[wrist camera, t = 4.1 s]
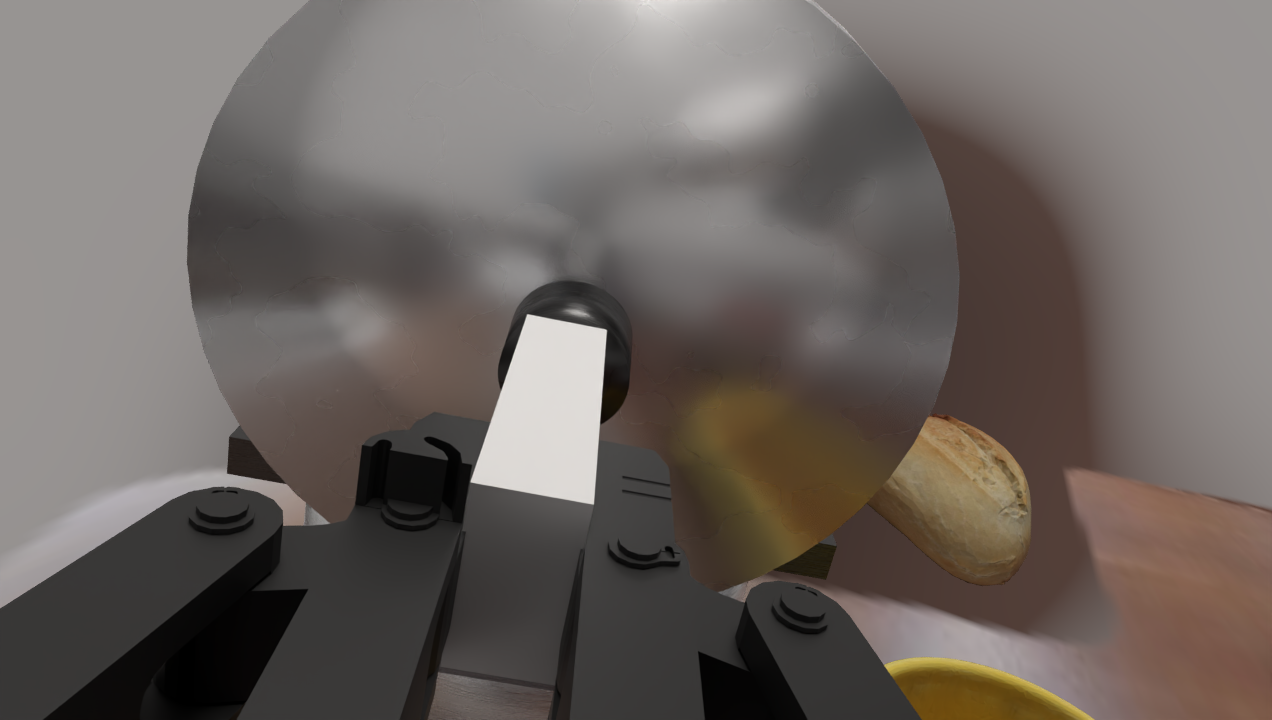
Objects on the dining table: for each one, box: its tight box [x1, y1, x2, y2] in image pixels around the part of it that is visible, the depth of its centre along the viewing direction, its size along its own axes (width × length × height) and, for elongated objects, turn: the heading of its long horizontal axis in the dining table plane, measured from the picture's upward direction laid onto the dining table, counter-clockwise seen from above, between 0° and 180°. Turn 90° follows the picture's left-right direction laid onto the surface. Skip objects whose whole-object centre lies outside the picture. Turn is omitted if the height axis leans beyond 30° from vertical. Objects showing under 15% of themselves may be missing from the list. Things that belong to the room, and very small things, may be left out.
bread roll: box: [867, 414, 1031, 586], centre depth 63 cm, size 10×15×8 cm, turn 31°
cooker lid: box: [187, 0, 959, 592], centre depth 23 cm, size 19×19×4 cm
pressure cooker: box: [227, 426, 837, 720], centre depth 38 cm, size 24×21×12 cm
